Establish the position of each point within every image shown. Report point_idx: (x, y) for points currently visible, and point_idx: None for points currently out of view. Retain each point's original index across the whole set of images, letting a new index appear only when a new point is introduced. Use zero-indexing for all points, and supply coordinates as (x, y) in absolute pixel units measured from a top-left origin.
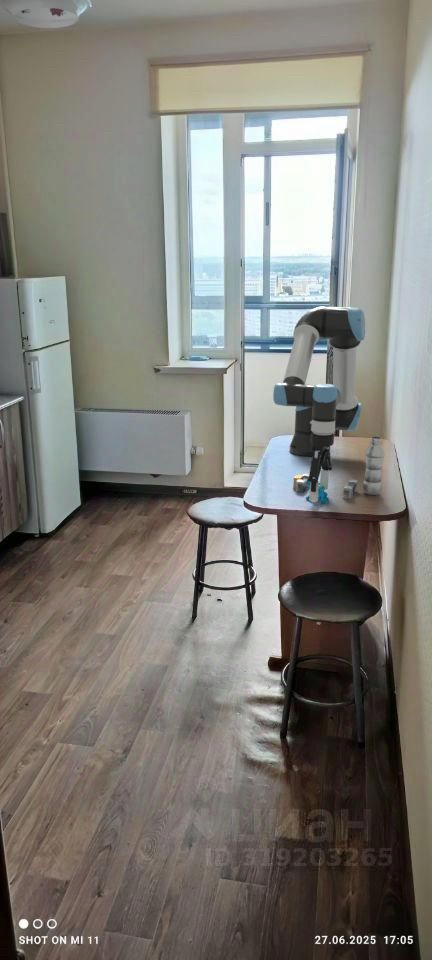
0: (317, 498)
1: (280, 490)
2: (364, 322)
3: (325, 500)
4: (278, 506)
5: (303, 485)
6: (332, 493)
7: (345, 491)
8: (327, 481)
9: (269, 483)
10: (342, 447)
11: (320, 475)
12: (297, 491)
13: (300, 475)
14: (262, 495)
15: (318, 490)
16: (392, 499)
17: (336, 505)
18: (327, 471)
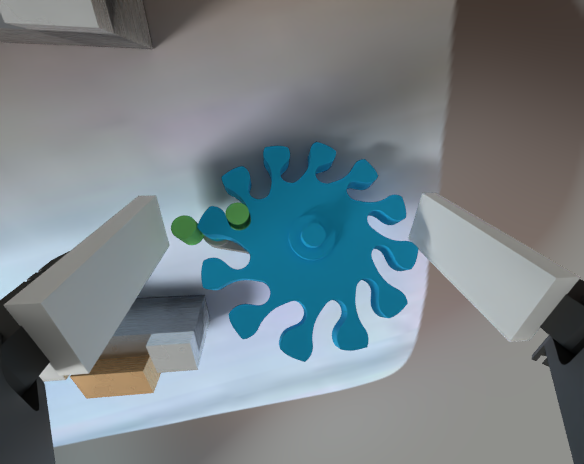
0: (444, 200)
1: (229, 360)
2: None
3: (329, 157)
4: (416, 314)
5: (192, 325)
6: (99, 157)
7: (114, 9)
8: (126, 228)
9: (173, 401)
10: None
11: (123, 318)
12: (207, 316)
13: (85, 385)
14: (313, 378)
15: (330, 234)
16: None
17: (335, 67)
18: (53, 310)
